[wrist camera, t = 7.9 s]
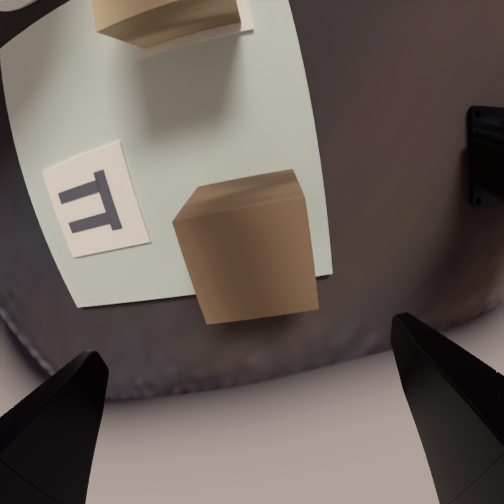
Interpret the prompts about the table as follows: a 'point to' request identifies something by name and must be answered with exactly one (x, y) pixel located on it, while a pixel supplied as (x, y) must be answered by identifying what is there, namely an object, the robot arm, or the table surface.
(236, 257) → the walnut block
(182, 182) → the board
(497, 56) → the table surface
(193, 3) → the oak block
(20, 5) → the white rounded piece
